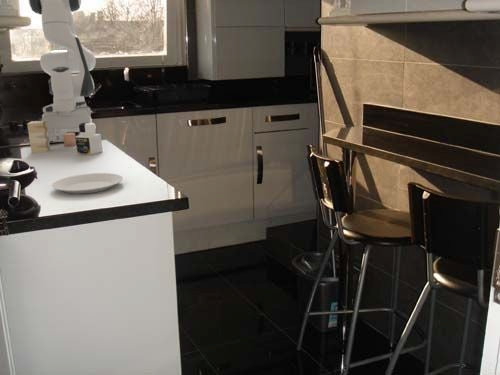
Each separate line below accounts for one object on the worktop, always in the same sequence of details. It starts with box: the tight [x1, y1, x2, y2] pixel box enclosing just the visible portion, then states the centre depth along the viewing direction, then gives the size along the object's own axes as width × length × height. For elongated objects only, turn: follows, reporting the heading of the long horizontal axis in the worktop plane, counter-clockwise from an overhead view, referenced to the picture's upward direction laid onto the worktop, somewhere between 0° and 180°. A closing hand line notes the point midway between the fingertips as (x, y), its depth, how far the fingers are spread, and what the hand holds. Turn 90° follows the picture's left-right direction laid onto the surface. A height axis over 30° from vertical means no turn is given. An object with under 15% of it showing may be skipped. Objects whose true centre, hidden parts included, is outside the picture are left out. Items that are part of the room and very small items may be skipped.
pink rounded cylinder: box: [63, 132, 76, 148], centre depth 252 cm, size 5×5×5 cm
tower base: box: [29, 140, 51, 154], centre depth 242 cm, size 6×6×4 cm
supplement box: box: [48, 129, 68, 143], centre depth 264 cm, size 7×7×13 cm
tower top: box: [26, 120, 47, 134], centre depth 240 cm, size 6×6×4 cm
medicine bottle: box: [75, 121, 103, 156], centre depth 232 cm, size 7×7×12 cm
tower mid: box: [28, 130, 49, 144], centre depth 241 cm, size 6×6×4 cm
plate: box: [51, 172, 124, 195], centre depth 179 cm, size 21×21×2 cm
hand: (69, 139), depth 251 cm, fingers open, 8 cm apart
